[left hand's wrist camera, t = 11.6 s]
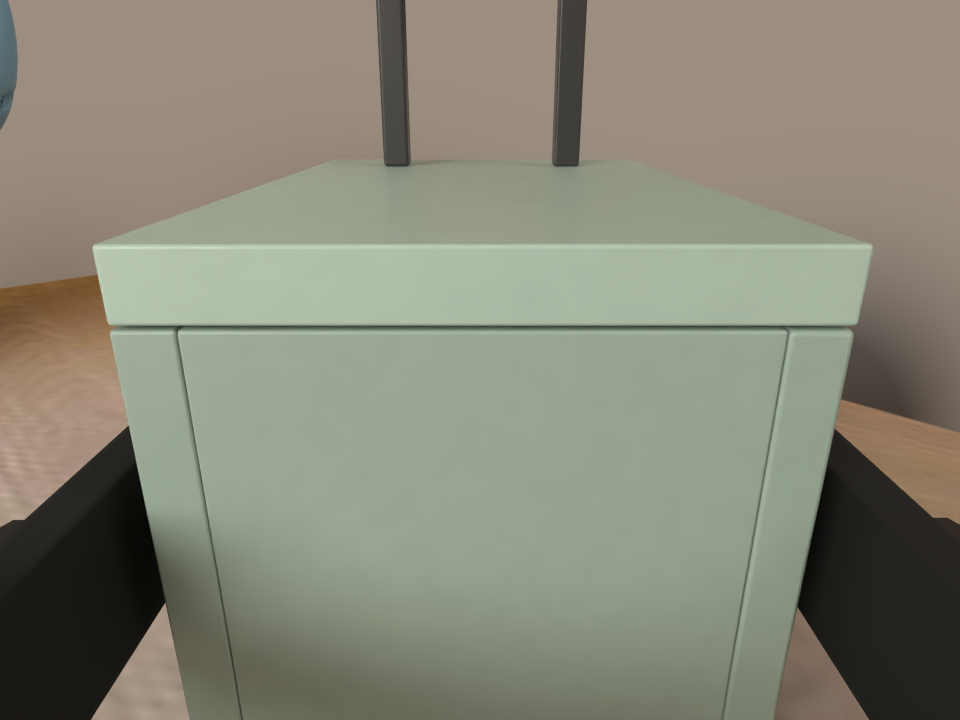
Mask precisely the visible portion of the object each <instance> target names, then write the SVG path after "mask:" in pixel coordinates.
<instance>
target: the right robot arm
mask: <svg viewBox="0 0 960 720" xmlns="http://www.w3.org/2000/svg"><path fill="white" fill-rule="evenodd" d="M17 66H18V58H17V41H16V34H15V28H14V22H13V18H12V13H11V9H10V6H9V2H8V0H0V130H1V128H2V126H3V125H4V123H5V121H6V119H7V117H8V115H9V112H10V109H11V106H12V101H13V93H14V90H15V88H16V81H17Z"/></svg>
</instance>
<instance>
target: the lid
mask: <svg viewBox="0 0 960 720" xmlns="http://www.w3.org/2000/svg"><path fill="white" fill-rule="evenodd" d="M376 6H377V26H378V47H379V67H380V88H381V108H382V128H383V149H384V160H332V161H330V162H327V163H324V164H321V165H318V166H315V167H313V168H310V169H307V170H304V171H301V172H298V173H296V174H293V175H290V176H287V177H284V178H281V179H279V180H276V181H273V182H270V183H267V184H264V185H262V186H259V187H256V188H253V189H250V190H247V191H245V192H242V193H239V194H236V195H233V196H231V197H227V198H225V199H222V200H219V201H216V202H213V203H211V204H208V205H205V206H202V207H199V208H196V209H194V210H191V211H188V212H185V213H182V214H179V215H177V216H174V217H171V218H168V219H165V220H162V221H160V222H157V223H154V224H151V225H148V226H145V227H143V228H140V229H137V230H134V231H131V232H128V233H125V234H123V235H120V236H117V237H114V238H111V239H108V240H106V241H103V242H100V243H97V244H95V245H93V254H94V259H95V263H96V268H97V273H98V278H99V283H100V288H101V292H102V297H103V302H104V307H105V312H106V317H107V321H108V324H109V325H112V326H854V325H857V323H858V320H859V315H860V311H861V306H862V301H863V296H864V292H865V287H866V282H867V277H868V273H869V268H870V263H871V258H872V253H873V246H872V245H871V244H869V243H866V242H863V241H860V240H857V239H854V238H851V237H849V236H846V235H843V234H840V233H837V232H834V231H831V230H828V229H826V228H823V227H820V226H817V225H814V224H811V223H808V222H805V221H803V220H800V219H797V218H794V217H791V216H788V215H785V214H782V213H780V212H777V211H774V210H771V209H768V208H765V207H762V206H759V205H757V204H754V203H751V202H748V201H745V200H742V199H739V198H737V197H734V196H731V195H728V194H725V193H722V192H719V191H716V190H714V189H711V188H708V187H705V186H702V185H699V184H696V183H693V182H691V181H688V180H685V179H682V178H679V177H676V176H673V175H670V174H667V173H665V172H662V171H659V170H656V169H653V168H650V167H648V166H645V165H642V164H639V163H636V162H633V161H630V160H579V149H580V129H581V110H582V90H583V70H584V50H585V30H586V11H587V0H558V11H557V39H556V66H555V93H554V121H553V148H552V160H411V155H410V126H409V98H408V70H407V42H406V14H405V0H376Z"/></svg>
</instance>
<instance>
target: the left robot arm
mask: <svg viewBox="0 0 960 720" xmlns="http://www.w3.org/2000/svg"><path fill="white" fill-rule="evenodd" d="M164 604H165V597H164V593H163V588H162V583H161V578H160V573H159V568H158V564H157V559H156V554H155V549H154V544H153V539H152V535H151V530H150V525H149V520H148V515H147V511H146V506H145V501H144V496H143V491H142V486H141V482H140V477H139V472H138V467H137V462H136V457H135V453H134V448H133V443H132V438H131V433H130V428H129V426H128V427H127V428H126V429H124V430H123V431H122V432H121V433H120V434H119V435H118V436H117V437H116V438H115V439H113V440H112V441H111V442H110V443H109V444H108V445H107V446H106V447H105V448H103V449H102V450H101V451H100V452H99V453H98V454H97V455H96V456H95V457H94V458H92V459H91V460H90V461H89V462H88V463H87V464H86V465H85V466H84V467H83V468H81V469H80V470H79V471H78V472H77V473H76V474H75V475H74V476H73V477H71V478H70V479H69V480H68V481H67V482H66V483H65V484H64V485H63V486H62V487H60V488H59V489H58V490H57V491H56V492H55V493H54V494H53V495H52V496H51V497H49V498H48V499H47V500H46V501H45V502H44V503H43V504H42V505H41V506H40V507H38V508H37V509H36V510H35V511H34V512H33V513H32V514H31V515H30V516H28V517H27V518H26V519H25V520H13V521H11V522H9V523H7V524H6V525H4V526H2V527H0V720H91V718H92V717H93V715H94V714H95V712H96V711H97V709H98V707H99V706H100V704H101V703H102V701H103V700H104V698H105V696H106V695H107V693H108V692H109V690H110V689H111V687H112V685H113V684H114V682H115V681H116V679H117V678H118V676H119V674H120V673H121V671H122V670H123V668H124V667H125V665H126V663H127V662H128V660H129V659H130V657H131V656H132V654H133V652H134V651H135V649H136V648H137V646H138V645H139V643H140V641H141V640H142V638H143V637H144V635H145V634H146V632H147V630H148V629H149V627H150V626H151V624H152V622H153V621H154V619H155V618H156V616H157V615H158V613H159V611H160V610H161V608H162V607H163V605H164ZM797 607H798V608H799V610H800V611H801V613H802V615H803V616H804V618H805V619H806V621H807V622H808V624H809V626H810V627H811V629H812V630H813V632H814V633H815V635H816V637H817V638H818V640H819V641H820V643H821V645H822V646H823V648H824V649H825V651H826V652H827V654H828V656H829V657H830V659H831V660H832V662H833V663H834V665H835V667H836V668H837V670H838V671H839V673H840V674H841V676H842V678H843V679H844V681H845V682H846V684H847V685H848V687H849V689H850V690H851V692H852V693H853V695H854V696H855V698H856V700H857V701H858V703H859V704H860V706H861V707H862V709H863V711H864V712H865V714H866V715H867V717H868V718H869V720H960V525H959V524H958V523H956V522H954V521H952V520H950V519H948V518H933V517H932V516H930V515H929V514H928V513H927V512H926V511H925V510H924V509H923V508H922V507H921V506H919V505H918V504H917V503H916V502H915V501H914V500H913V499H912V498H911V497H909V496H908V495H907V494H906V493H905V492H904V491H903V490H902V489H901V488H900V487H898V486H897V485H896V484H895V483H894V482H893V481H892V480H891V479H890V478H889V477H887V476H886V475H885V474H884V473H883V472H882V471H881V470H880V469H879V468H877V467H876V466H875V465H874V464H873V463H872V462H871V461H870V460H869V459H868V458H866V457H865V456H864V455H863V454H862V453H861V452H860V451H859V450H858V449H857V448H855V447H854V446H853V445H852V444H851V443H850V442H849V441H848V440H847V439H845V438H844V437H843V436H842V435H841V434H840V433H839V432H838V431H837V430H836V429H834V434H833V439H832V443H831V448H830V453H829V458H828V463H827V467H826V472H825V477H824V482H823V486H822V491H821V496H820V501H819V506H818V510H817V515H816V520H815V525H814V529H813V534H812V539H811V544H810V548H809V553H808V558H807V563H806V568H805V572H804V577H803V582H802V587H801V591H800V596H799V601H798V606H797Z"/></svg>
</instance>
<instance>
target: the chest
mask: <svg viewBox="0 0 960 720" xmlns="http://www.w3.org/2000/svg"><path fill="white" fill-rule="evenodd" d="M110 337H111V342H112V346H113V351H114V356H115V361H116V366H117V371H118V375H119V380H120V385H121V390H122V395H123V399H124V404H125V409H126V414H127V419H128V424H129V428H130V433H131V438H132V443H133V448H134V453H135V457H136V462H137V467H138V472H139V477H140V482H141V486H142V491H143V496H144V501H145V506H146V511H147V515H148V520H149V525H150V530H151V535H152V539H153V544H154V549H155V554H156V559H157V564H158V568H159V573H160V578H161V583H162V588H163V593H164V597H165V602H166V607H167V612H168V617H169V622H170V626H171V631H172V636H173V641H174V646H175V651H176V655H177V660H178V665H179V670H180V675H181V680H182V684H183V689H184V694H185V699H186V704H187V708H188V713H189V718H190V720H774V716H775V711H776V706H777V701H778V696H779V692H780V687H781V682H782V677H783V673H784V668H785V663H786V658H787V653H788V649H789V644H790V639H791V634H792V630H793V625H794V620H795V615H796V611H797V606H798V601H799V596H800V591H801V587H802V582H803V577H804V572H805V568H806V563H807V558H808V553H809V548H810V544H811V539H812V534H813V529H814V525H815V520H816V515H817V510H818V506H819V501H820V496H821V491H822V486H823V482H824V477H825V472H826V467H827V463H828V458H829V453H830V448H831V443H832V439H833V434H834V429H835V424H836V420H837V415H838V410H839V405H840V401H841V396H842V391H843V386H844V381H845V377H846V372H847V367H848V362H849V357H850V353H851V348H852V343H853V338H854V336H853V332H852V330H850V329H848V328H847V327H845V326H118V327H117V328H115V329H113V330H112V331H111V332H110Z"/></svg>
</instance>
